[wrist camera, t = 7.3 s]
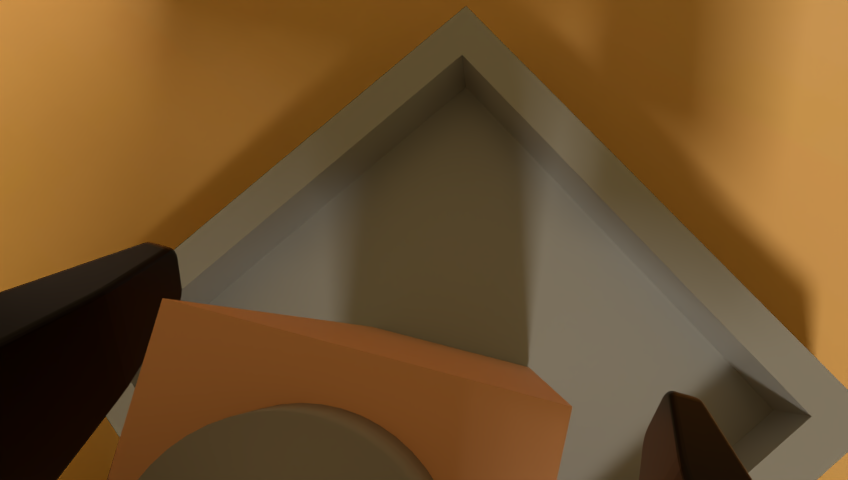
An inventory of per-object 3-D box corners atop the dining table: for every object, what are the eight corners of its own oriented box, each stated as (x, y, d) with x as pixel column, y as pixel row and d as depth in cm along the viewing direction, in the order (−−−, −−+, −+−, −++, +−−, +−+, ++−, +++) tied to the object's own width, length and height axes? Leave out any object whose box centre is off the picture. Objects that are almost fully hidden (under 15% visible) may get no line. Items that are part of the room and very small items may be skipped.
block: (490, 535, 16) (458, 1001, 5) (330, 487, 17) (-40, 790, 5) (528, 367, 17) (582, 416, 5) (371, 326, 18) (118, 292, 6)
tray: (414, 768, 16) (395, 856, 13) (125, 348, 19) (59, 345, 17) (814, 412, 17) (880, 422, 14) (470, 58, 20) (465, 5, 17)
